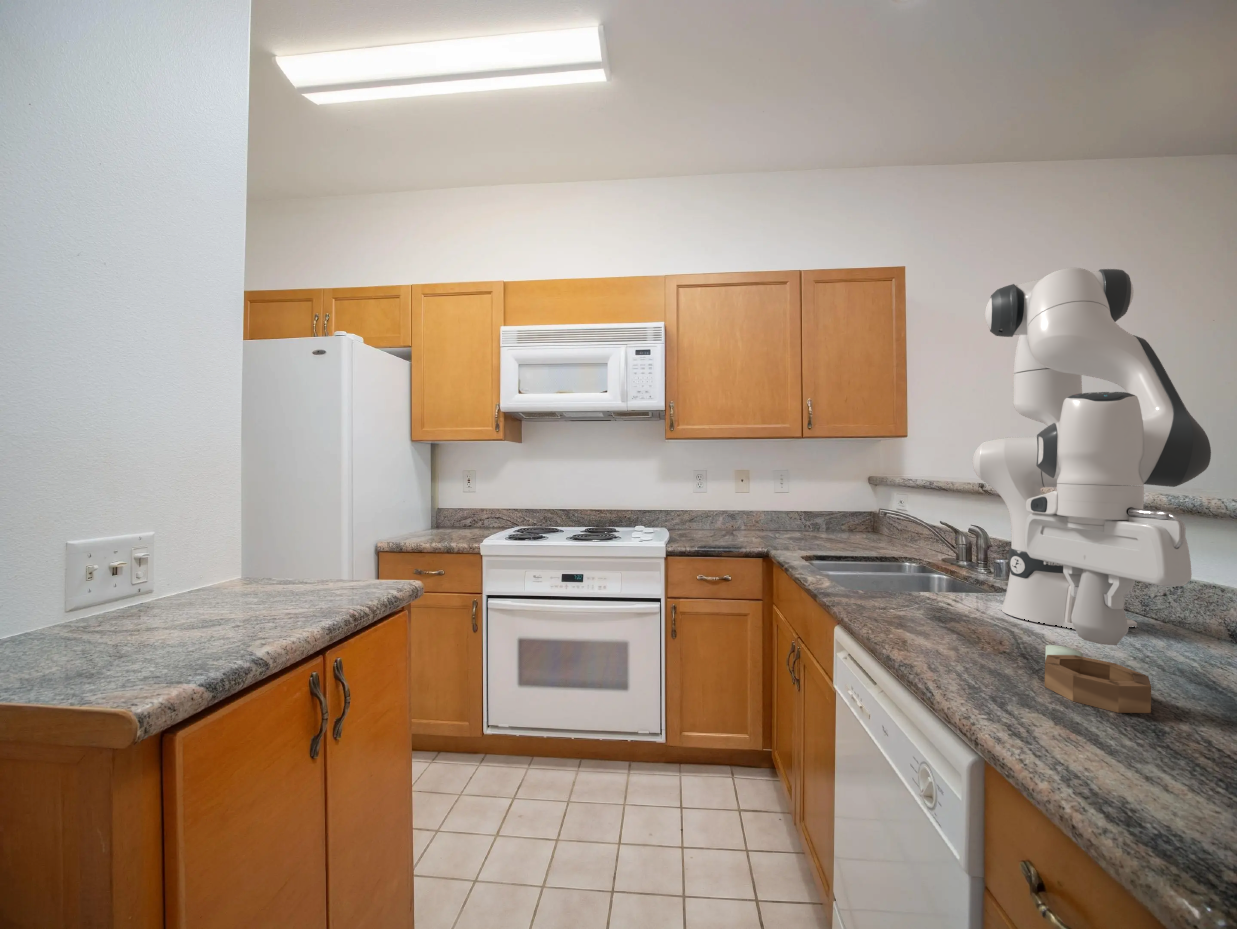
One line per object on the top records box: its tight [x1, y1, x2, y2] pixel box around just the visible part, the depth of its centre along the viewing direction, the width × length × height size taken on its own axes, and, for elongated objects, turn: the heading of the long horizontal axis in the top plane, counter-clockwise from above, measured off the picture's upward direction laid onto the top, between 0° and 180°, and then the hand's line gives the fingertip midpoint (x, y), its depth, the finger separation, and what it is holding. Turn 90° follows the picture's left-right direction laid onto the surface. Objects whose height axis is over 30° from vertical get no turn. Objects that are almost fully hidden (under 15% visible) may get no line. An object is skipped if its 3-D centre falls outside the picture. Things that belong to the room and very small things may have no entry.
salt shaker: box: [1071, 555, 1130, 646], centre depth 69 cm, size 6×6×13 cm
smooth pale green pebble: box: [1044, 644, 1084, 661], centre depth 79 cm, size 4×4×3 cm
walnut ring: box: [1044, 655, 1152, 714], centre depth 70 cm, size 10×10×4 cm
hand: (1096, 603), depth 70 cm, fingers closed on salt shaker, 3 cm apart
